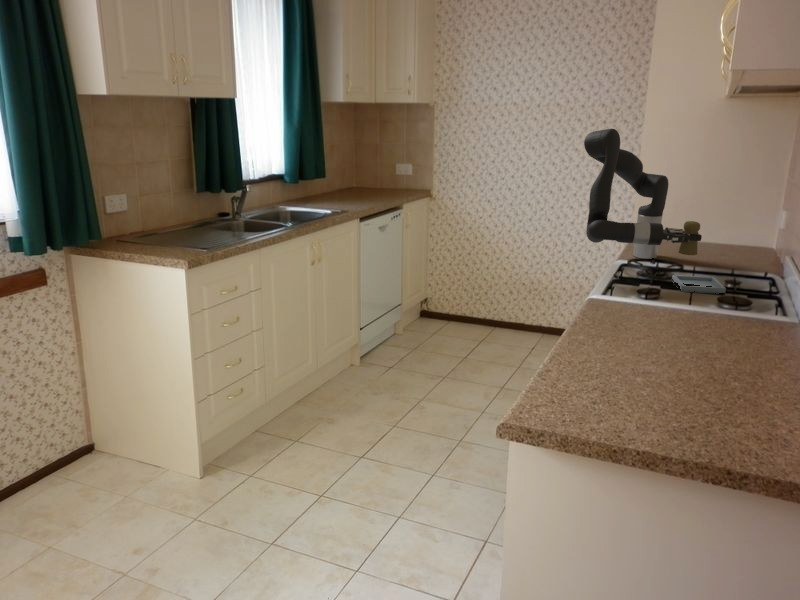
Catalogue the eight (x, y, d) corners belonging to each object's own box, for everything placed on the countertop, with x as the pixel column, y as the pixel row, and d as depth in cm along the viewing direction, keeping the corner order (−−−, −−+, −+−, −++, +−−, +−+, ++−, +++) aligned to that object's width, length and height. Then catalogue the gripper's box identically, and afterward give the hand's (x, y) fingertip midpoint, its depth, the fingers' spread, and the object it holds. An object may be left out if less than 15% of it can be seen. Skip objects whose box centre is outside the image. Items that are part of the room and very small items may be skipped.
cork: (700, 255, 223) (705, 223, 219) (682, 255, 223) (687, 223, 220) (693, 251, 229) (698, 220, 225) (675, 250, 229) (680, 219, 225)
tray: (671, 280, 235) (672, 275, 235) (713, 282, 233) (713, 277, 233) (681, 291, 222) (681, 286, 222) (724, 294, 220) (725, 288, 219)
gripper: (652, 227, 218) (706, 229, 216) (644, 219, 232) (696, 221, 229) (649, 249, 221) (703, 252, 218) (642, 239, 234) (692, 242, 231)
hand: (699, 236), depth 223 cm, fingers closed on cork, 3 cm apart
